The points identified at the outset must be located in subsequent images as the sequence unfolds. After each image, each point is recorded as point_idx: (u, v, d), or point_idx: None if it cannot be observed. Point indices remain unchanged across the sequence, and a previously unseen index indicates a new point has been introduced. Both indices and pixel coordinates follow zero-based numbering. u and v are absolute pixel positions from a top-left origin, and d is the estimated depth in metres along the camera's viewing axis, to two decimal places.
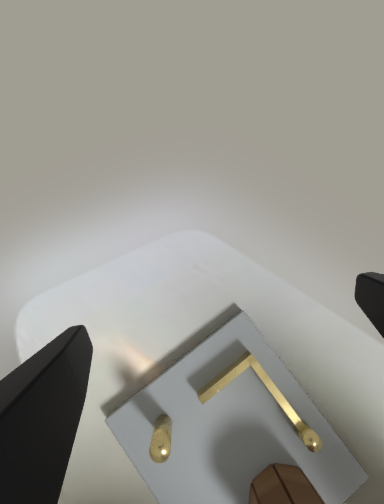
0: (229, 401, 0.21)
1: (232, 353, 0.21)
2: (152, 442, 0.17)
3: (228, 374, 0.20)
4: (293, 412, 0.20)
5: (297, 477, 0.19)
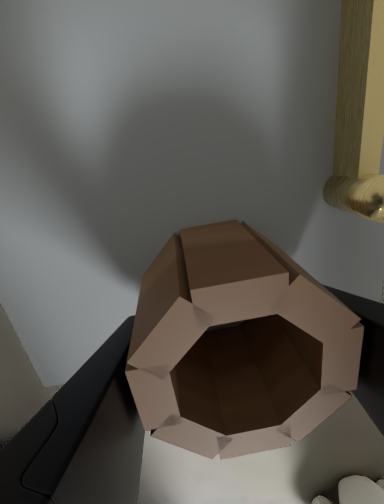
0: (225, 6, 0.07)
1: None
2: None
3: None
4: (382, 114, 0.07)
5: (287, 256, 0.08)
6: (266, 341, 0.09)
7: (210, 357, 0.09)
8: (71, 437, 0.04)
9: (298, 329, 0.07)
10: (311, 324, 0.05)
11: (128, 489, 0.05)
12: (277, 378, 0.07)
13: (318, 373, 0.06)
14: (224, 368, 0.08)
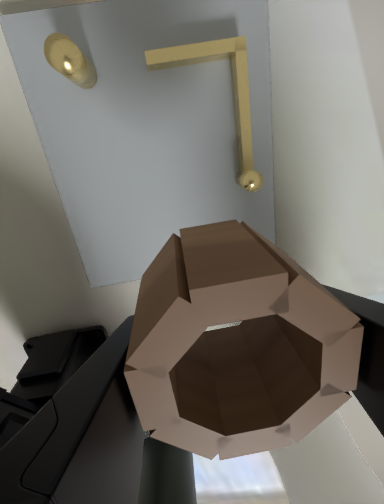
0: (181, 98, 0.15)
1: (217, 34, 0.14)
2: (54, 35, 0.11)
3: (200, 44, 0.13)
4: (250, 144, 0.15)
5: (287, 256, 0.08)
6: (266, 341, 0.09)
7: (209, 358, 0.09)
8: (71, 437, 0.04)
9: (298, 329, 0.07)
10: (311, 324, 0.05)
11: (128, 489, 0.05)
12: (277, 378, 0.07)
13: (318, 373, 0.06)
14: (223, 368, 0.08)
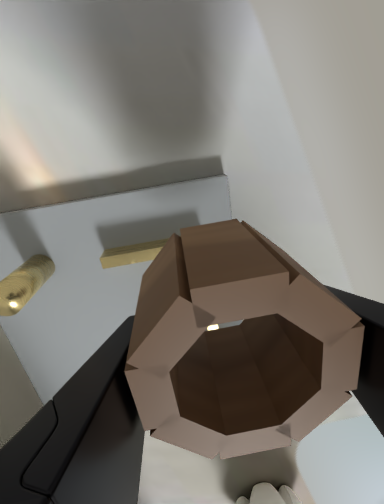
0: None
1: (178, 225, 0.14)
2: None
3: (157, 249, 0.13)
4: (215, 325, 0.15)
5: (287, 256, 0.08)
6: (266, 341, 0.09)
7: (210, 357, 0.09)
8: (71, 437, 0.04)
9: (298, 329, 0.07)
10: (311, 324, 0.05)
11: (128, 489, 0.05)
12: (277, 378, 0.07)
13: (318, 373, 0.06)
14: (224, 368, 0.08)
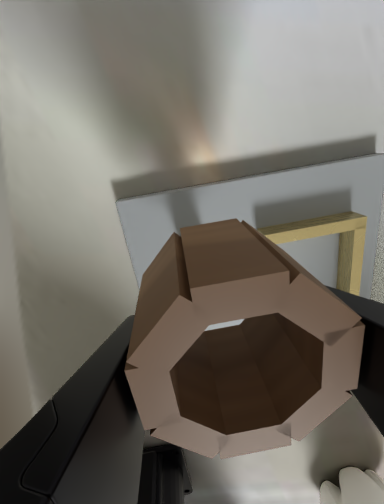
0: None
1: (331, 204, 0.14)
2: None
3: (320, 226, 0.13)
4: None
5: (287, 255, 0.08)
6: (266, 340, 0.08)
7: (210, 357, 0.09)
8: (71, 437, 0.04)
9: (298, 328, 0.07)
10: (312, 323, 0.05)
11: (128, 489, 0.05)
12: (277, 377, 0.07)
13: (319, 372, 0.06)
14: (224, 367, 0.08)
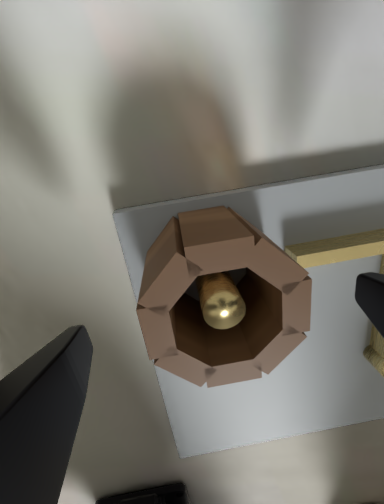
0: (318, 281, 0.12)
1: (374, 217, 0.11)
2: (217, 291, 0.08)
3: (365, 246, 0.11)
4: None
5: (262, 234, 0.10)
6: (247, 304, 0.11)
7: (201, 318, 0.11)
8: None
9: (268, 288, 0.09)
10: (272, 276, 0.07)
11: None
12: (253, 328, 0.09)
13: (281, 318, 0.08)
14: None
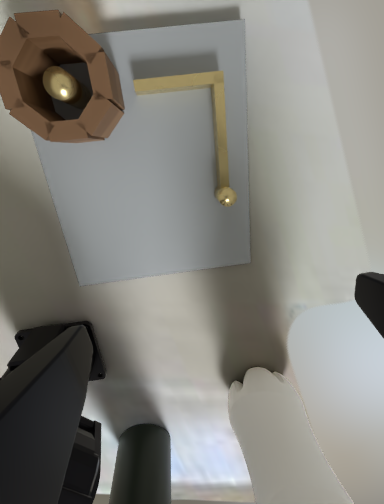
0: (166, 120, 0.17)
1: (200, 66, 0.16)
2: (52, 68, 0.13)
3: (182, 76, 0.15)
4: (226, 164, 0.17)
5: None
6: None
7: None
8: None
9: None
10: (76, 45, 0.12)
11: None
12: None
13: None
14: None
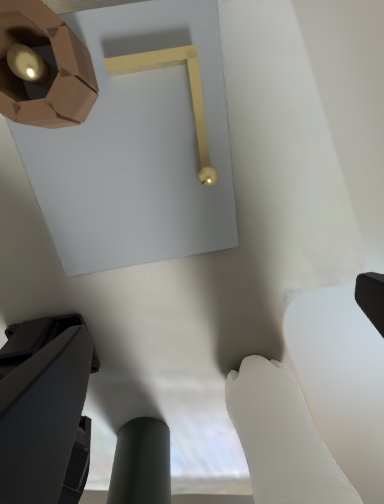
0: (142, 101, 0.17)
1: (173, 43, 0.16)
2: (16, 46, 0.12)
3: (154, 52, 0.15)
4: (206, 143, 0.17)
5: None
6: None
7: None
8: None
9: None
10: (37, 19, 0.12)
11: None
12: None
13: (58, 64, 0.12)
14: None
